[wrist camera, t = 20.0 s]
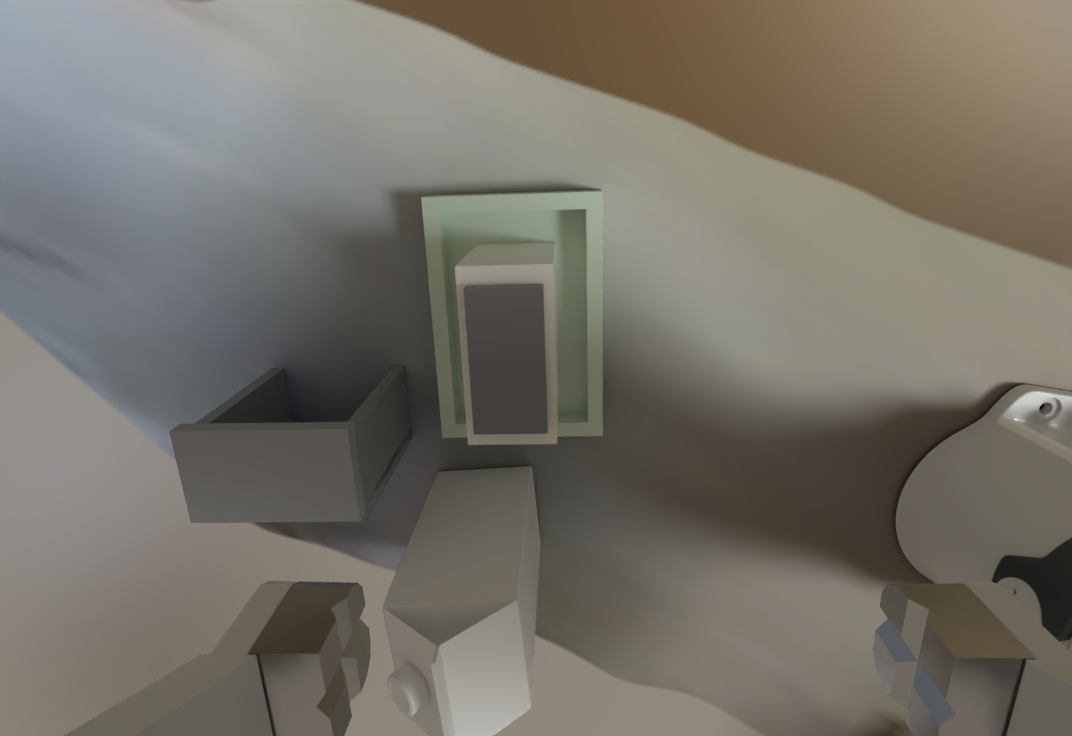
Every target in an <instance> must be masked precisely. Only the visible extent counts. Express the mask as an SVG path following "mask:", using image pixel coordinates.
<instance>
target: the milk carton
mask: <svg viewBox="0 0 1072 736" xmlns="http://www.w3.org/2000/svg"><path fill="white" fill-rule="evenodd" d="M540 548H541V545H540V534H539V525H538V515H537V506H536V497H535V488H534V478H533V470H532V467H531V466H521V467H505V468H490V469H474V470H459V471H444V472H437V474H436V476H435V479H434V481H433V484H432V486H431V489H430V491H429V494H428V496H427V498H426V501H425V503H424V506H423V508H422V511H421V513H420V516H419V518H418V520H417V523H416V525H415V528H414V530H413V533H412V535H411V538H410V540H409V542H408V545H407V547H406V550H405V552H404V555H403V557H402V560H401V562H400V564H399V567H398V569H397V572H396V574H395V577H394V579H393V582H392V584H391V587H390V589H389V591H388V594H387V597H386V599H385V602H384V605H383V613H384V619H385V624H386V630H387V634H388V639H389V644H390V648H391V653H392V658H393V663H394V668H395V672H394V673H392V674H391V675H390V676H389V677H388V679H387V685H388V689H389V693H390V695H391V698H392V700H393V701H394V703H395V704H396V705H397V707H398V708H399V709H400V710H401V711H402V712H403V713H404V714H405V715H406V716H408V718H409V719H411V720H412V721H413V722H414V723H415V724H416V725H417V726H419V727H420V728H421V729H422V730H423V731H424V732H425V733H426V734H427V735H429V736H493V735H495V734H496V733H497V732H499V731H500V730H502V729H503V728H504V727H506V726H507V725H508V724H510V723H511V722H513V721H514V720H515V719H517V718H518V717H520V716H521V715H522V714H524V713H525V712H526V711H528V710H529V709H530V706H531V691H532V675H533V658H534V643H535V628H536V612H537V596H538V580H539V564H540Z"/></svg>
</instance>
